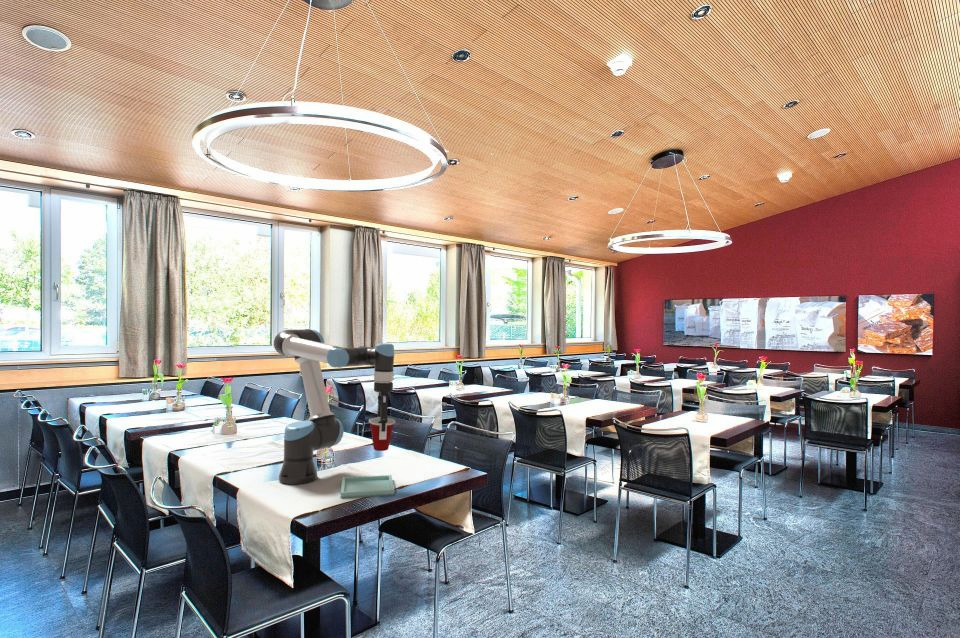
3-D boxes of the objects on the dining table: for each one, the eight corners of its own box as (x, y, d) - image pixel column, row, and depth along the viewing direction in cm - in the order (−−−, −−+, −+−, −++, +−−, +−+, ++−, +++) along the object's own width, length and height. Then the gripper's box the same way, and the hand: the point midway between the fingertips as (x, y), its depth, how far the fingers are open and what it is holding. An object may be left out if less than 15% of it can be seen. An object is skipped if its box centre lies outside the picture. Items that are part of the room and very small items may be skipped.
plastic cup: (372, 454, 206) (373, 423, 206) (364, 447, 216) (365, 418, 216) (398, 451, 212) (399, 421, 212) (389, 445, 221) (390, 416, 221)
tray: (340, 498, 198) (340, 492, 198) (342, 482, 218) (342, 477, 218) (394, 495, 203) (394, 489, 203) (391, 479, 222) (391, 474, 222)
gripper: (395, 385, 203) (393, 442, 204) (390, 378, 226) (388, 429, 226) (376, 385, 201) (374, 443, 202) (372, 378, 224) (370, 429, 224)
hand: (381, 435), depth 214 cm, fingers closed on plastic cup, 11 cm apart
